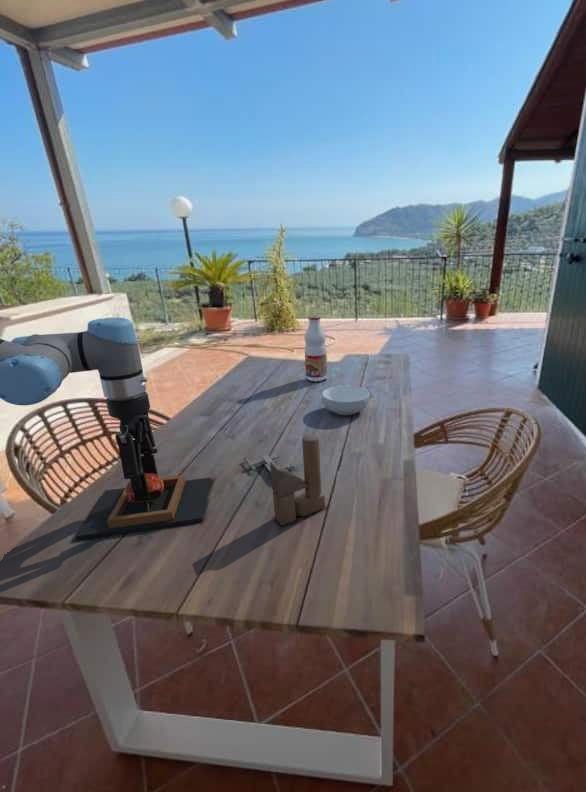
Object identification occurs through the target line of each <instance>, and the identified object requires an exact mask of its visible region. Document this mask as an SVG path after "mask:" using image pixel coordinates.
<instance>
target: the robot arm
mask: <svg viewBox="0 0 586 792" xmlns="http://www.w3.org/2000/svg"><path fill="white" fill-rule="evenodd" d="M142 364H143V363H142V359H141V353H140V347H139V343H138V338H137V335H136V331H135V328H134V325H133V322H132V321H131V320H130V319H128V318H127V317H119V316H118V317H117V316H116V317H105V318H96V319H93V320H90V321H88V323H87V330H84V331H79V332H78V331H77V332H76V331H75V332H63V333H47V334H45V333H44V334H38V333H35V334H30V335H25V336H17V337H14V338H13V339H12V340H11V341H9V340H7V339H6V340H5V339H2V338H0V400H2V401H3V402H6V403H7V404H11V405H14V406H33V405H36V404H39V403H42V402H43V401H45V400H46V399H48V398H49V397H50V396H51V395H53V394H55V393H56V392H57V391H58V389H59V388H60V387H61V385H62V383H63V381H64V380H65V379H66V378H67V377H68V375H69V374H73V373H82V372H92V371H98V375H99V380H100V384H101V389H102V393H103V396H104V398H106V399H105V405H106V408H107V413H108V415H109V416H110V417H111V418H114V419H116V420H119V425H118V426H119V432H120V433H116V434H115V437H114V438H115V441H116V443H117V446H118V452H119V458H120V463H121V468H122V473H123V479H124V480H130V481H131V485H132V489H133V493H134V497H135V502H138V501H145V500H150V495H149V490H148V486H147V481H146V477H145V473H148V474H150V473H153V474H156V475H158V476H159V473H158V469H157V464H156V459H155V455H154V454H158V448H156V441H155V437H154V434H153V428H152V425H151V421H150V415H149V410H150V408H151V404H150V398H149V393H148V392H147V385H146V383H147V382H148V378H147V377H145V375H144V370H143V365H142ZM142 471H143V472H142Z"/></svg>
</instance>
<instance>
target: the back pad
mask: <svg viewBox="0 0 586 792" xmlns="http://www.w3.org/2000/svg"><path fill="white" fill-rule="evenodd" d="M160 478H161V479H162V481H163V484H164V490H163V491H162V494H161V496H160V497H159V498H157V499H154V500H148V503H149V512H148V507H147V503H146V502H144V503H142V504H134V503H133V502H131V500H129V499H128V498H127V495H126V487H121V488H115V489H105V490H104V492H103V493H102V494H101V496H100V498H99V500H98V501H97V503H96V504H95V506H94V507H93V509H92V510H91V512H90V514H89V515H88V516H87V518H86V520H85V521H84V523H83V524H82V526H81V527H80V529H79V531H78V532H77V534H76V535H75V538H76V540H77V541H80V540H85V539H86V540H87V539H93V538H94V539H95V538H100V537H107V536H114V535H121V534H126V533H128V534H129V533H134V532H135V533H136V532H141V531H149V530H155V529H162V528H169V527H175V526H183V525H189V524H196V523H202V522H203V519H204V514H205V510H206V506H207V500H208V496H209V492H210V488H211V483H212V477H203V478H202V477H201V478H194V479H186V477H185V475H175V476H167V477H160Z"/></svg>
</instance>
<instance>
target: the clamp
mask: <svg viewBox="0 0 586 792" xmlns="http://www.w3.org/2000/svg"><path fill="white" fill-rule="evenodd" d="M280 457H281V456H280V455H275V456H271V457H270V456H269V455H263V456H262V459H261V460H257V461H250V460H249V458H248V456H244V457H243V459H244V460H245V461H246V462H247V467H248V468H249V469H252V472H256V471H257V468H256V467H255V466H257V465H260V464H263V466H265V468H266V469H267V470H268V472H269V473H270V474H271V468H270V462H273V463H274V464H276V462H274V460H276V459H279V458H280ZM281 467H282V468H283V469H285V470H287V471H290V470H293V469H295V464H294V463H293V462H290V463H286V464H285V465H284V466H281Z"/></svg>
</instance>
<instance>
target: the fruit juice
mask: <svg viewBox="0 0 586 792" xmlns="http://www.w3.org/2000/svg"><path fill="white" fill-rule="evenodd" d="M307 319H308V327H307V330H306V332H305V333H304V336H303V337H304V338H303V339H304V343H305V346H304V365H305V377H306V376H307V377H310V378H319V377H324V376H326V375H327V376H328V359H327V355H328V354H327V346H326V339H327V338H326V333H325V331H323V329H322V326H321V322H320V321H321V316H320V315H309V316H307Z"/></svg>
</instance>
